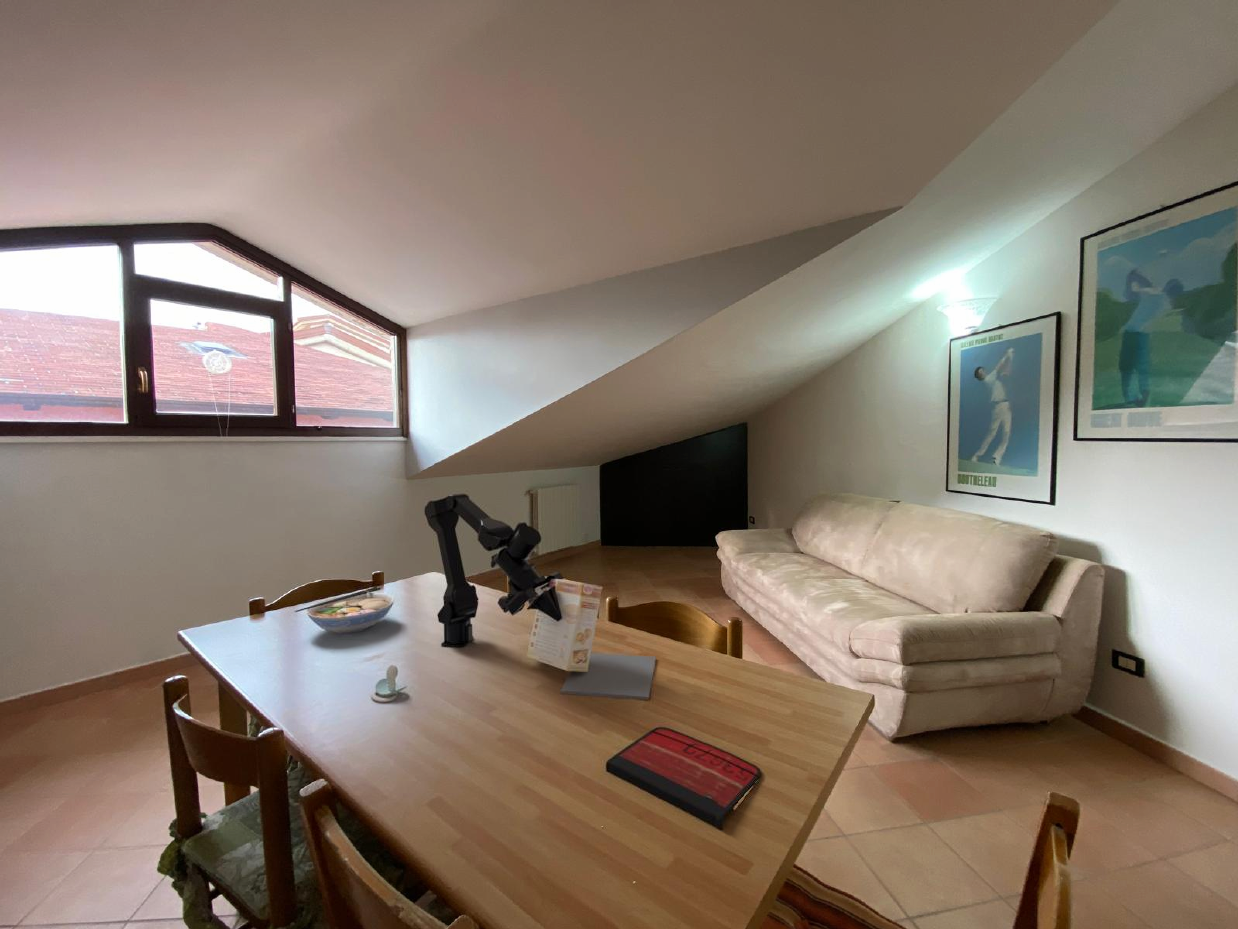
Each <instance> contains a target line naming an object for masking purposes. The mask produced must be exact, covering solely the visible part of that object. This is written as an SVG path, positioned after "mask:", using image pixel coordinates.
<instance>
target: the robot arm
mask: <svg viewBox="0 0 1238 929" xmlns="http://www.w3.org/2000/svg"><path fill="white" fill-rule="evenodd" d="M423 511H424V516H425V517H426V521H427V525H428V526H429V527H430V528H431V529H432V530H433V531H434V532H435V534H436V537H437V542H438V545H439V546H438V547H439V551H440V557H441V562H442V567H443V572H444V576H445V580H446V588H445V592H444V594H443V596H442V599H443V605H442V608H440V609H439V611H438V613H436V614H437V615H436V616H437V619H438V620H437V621H438V623H441V624H442V625H443V642H441V644H440V646H441V647H453V648H455V647H456V648H457V647H459V648H464V647H465V646H467V644H469V643H470V642H472V640H473V639H474V635H473V623H472V621H471V620H472V619H474V618H476V617H477V611H478V607H479V597H478V594H477V587H476V586H475V584H473V585H471V584H470V583H469V582H468V581H467V579H466V575H465V569H464V564H463V559H462V554H461V551H460V550H461V549H460V546H459V541H458V535H457V531H456V528H457V526H458V523H459V520H460V518H461V519H462V520H463V521H464V522H465V523H466V524H467V525H469V527H471V528H472V529H473V530H474V532H476V534H477V541H478V542H479V544H480V545H481V546H482V547H483V549H485V551H487V552H493V551H497V550H499V551H498V553H496V554H494V555H492V556H490V558H491V559H490V560H491V561H490V567H491V568H492V569H494V568H495V567H499V569H501V571H502V572H503V573H504V574H505V575H506V577H507V578H508V579H509V581H508V582H507V583H508V587H509V588H510V592H509V593H507V594H506V595H503V596H501V597H499V599H498V601H497V605H498V606H499V607H500V609H501V610H502V611H503V613H507V612H508V613H509V614H510V615H511V616H514V615H517V614H518V613H519V612H521V611H522V610H523V609H524V608H525V606H526V603H527V602H528V604H529V605H528V606H527V608H526V610H527V611H529V610H536V609H538V610H540V611H542V612H543V613H545V614H547V615H548V616H550V617H551V618H553V619H555V620H556V621H560V620H561V619H562V615H561V612H560V608H559V604H558V600H557V595H556V590H555V588H556V586H553V587H551V588H550V587H549V584H550V583H551V581H550V580H551V579H552V578H553V579H561V580H565V577H564V576H563V575H562V574H561V572H555V571H554V572H552V573H551V574H548V575H547V576H545V575H539V573H538V572H537V571H536V570H535V569H534V567H536V564H534V562H531V563H529V562H528V561H527V558H528V557H530V555H531V554H532V553H533V552H534V550H535V549H537V546H538V545H539V544H540V543H541V541H542V535H541V533H540V531H538V530H537V529H536V528H534V527H532V526H530V525H528V524H527V523H526V521H525V522H518V523H517V525H516V526H515V528H514V529H513V528H512V527H511V525H509V524H507V523H505V521H502V520H497V519H494V518H492V517H491V516H489V514H487V513H486V512H485V511H484V510H482V509H481V507H479V506H478V505H477V504H476V503H475V502H474V501H472V500H471V499H470V496H469V495H468V494H467V493H456V494H450V495H448V496H446V497H444V498H440V499H436V500H429V501H428V502H427V504H426V506H424V510H423ZM545 577H547V578H545Z"/></svg>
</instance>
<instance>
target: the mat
mask: <svg viewBox="0 0 1238 929" xmlns="http://www.w3.org/2000/svg"><path fill="white" fill-rule="evenodd" d="M656 660H657V656H648V655H647V656H646V655H631V654H616V653H615V654H614V653H598V652H597V653H596V652H591V654H590V660H589V665H588V672H579V671H569V674H568V676H567V678H566V680H565V681H564V684H563V685H562V687H561V689H560V694H565V695H577V696H579V695H581V696H590V697H591V696H593V697H603V698H604V697H606V698H620V699H632V700H633V699H634V700H644V699H646V700H647V701H649V699H650V694H651V688H652V684H651V683H652V682H653V678H654V673H653V672H654V671H655V666H656V662H655V661H656ZM646 700H645V701H646Z"/></svg>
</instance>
